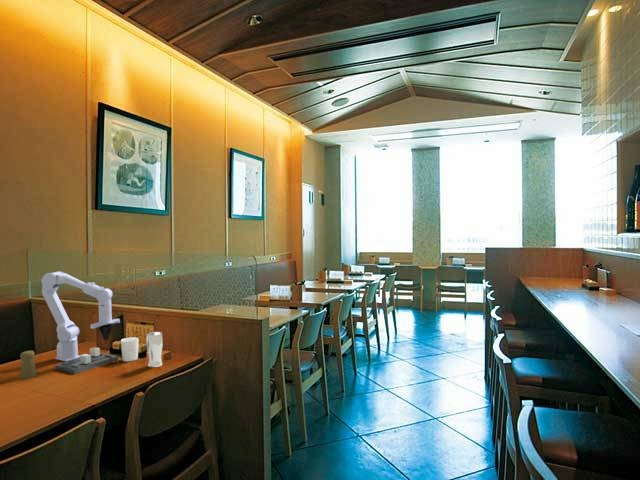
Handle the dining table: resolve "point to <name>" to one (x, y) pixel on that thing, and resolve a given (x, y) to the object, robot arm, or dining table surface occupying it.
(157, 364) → the beer glass
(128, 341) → the white cup
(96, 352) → the fader cream
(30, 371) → the tan bulb-headed cylinder
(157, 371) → the dining table surface
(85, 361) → the fader bluegrey
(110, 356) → the console
